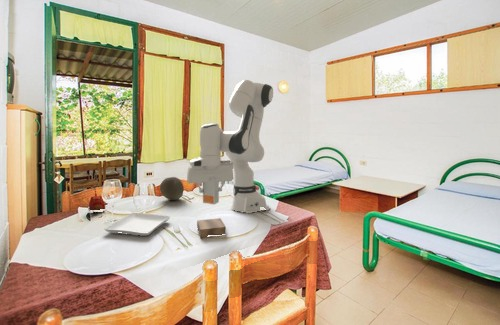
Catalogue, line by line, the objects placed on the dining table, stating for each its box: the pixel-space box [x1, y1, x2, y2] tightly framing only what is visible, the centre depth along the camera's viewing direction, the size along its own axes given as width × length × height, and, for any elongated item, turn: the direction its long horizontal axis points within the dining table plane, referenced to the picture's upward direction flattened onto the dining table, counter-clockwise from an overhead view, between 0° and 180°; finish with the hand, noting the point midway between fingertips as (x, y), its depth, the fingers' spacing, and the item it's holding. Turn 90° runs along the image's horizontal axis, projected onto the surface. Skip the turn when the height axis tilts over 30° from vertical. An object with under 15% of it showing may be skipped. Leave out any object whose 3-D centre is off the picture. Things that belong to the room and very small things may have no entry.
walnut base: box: [196, 217, 227, 239], centre depth 117 cm, size 11×11×4 cm
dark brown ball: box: [159, 176, 185, 201], centre depth 164 cm, size 14×14×15 cm
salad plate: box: [103, 212, 171, 237], centre depth 120 cm, size 21×21×3 cm
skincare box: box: [202, 177, 220, 206], centre depth 114 cm, size 6×4×12 cm
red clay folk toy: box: [88, 184, 106, 211], centre depth 140 cm, size 8×7×15 cm
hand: (210, 191), depth 114 cm, fingers closed on skincare box, 7 cm apart
